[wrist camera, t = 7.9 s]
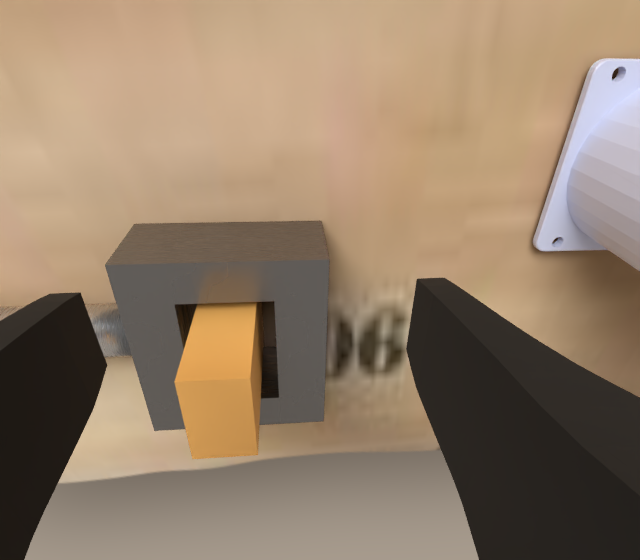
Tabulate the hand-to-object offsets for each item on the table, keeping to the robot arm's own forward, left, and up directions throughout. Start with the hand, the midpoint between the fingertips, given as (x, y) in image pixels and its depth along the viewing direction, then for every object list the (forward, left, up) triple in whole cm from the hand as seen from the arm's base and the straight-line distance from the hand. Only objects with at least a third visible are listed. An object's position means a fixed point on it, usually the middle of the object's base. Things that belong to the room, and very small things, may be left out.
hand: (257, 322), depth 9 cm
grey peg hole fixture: (+6, +6, -9) cm, 13 cm away
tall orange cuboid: (+2, +6, -9) cm, 11 cm away
